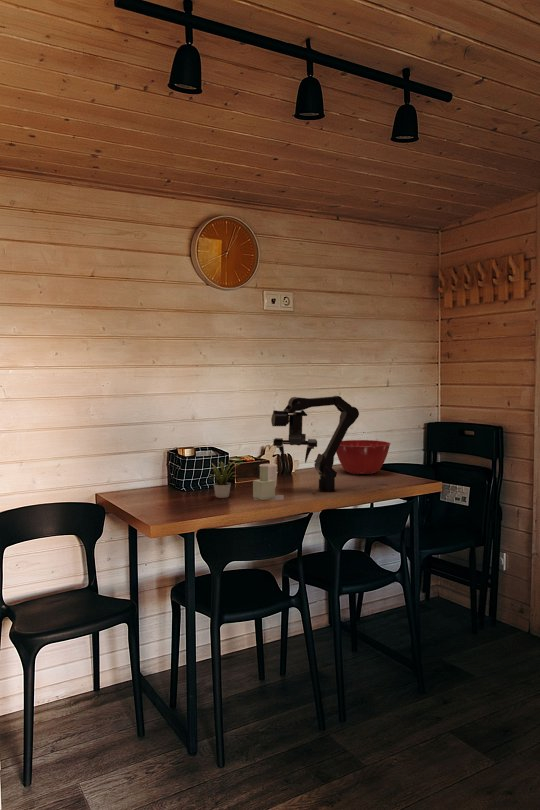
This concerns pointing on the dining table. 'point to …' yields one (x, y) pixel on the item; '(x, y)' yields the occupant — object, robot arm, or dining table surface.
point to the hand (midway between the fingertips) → (294, 462)
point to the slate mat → (277, 497)
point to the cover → (263, 485)
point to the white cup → (272, 472)
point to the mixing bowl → (362, 455)
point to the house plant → (222, 480)
